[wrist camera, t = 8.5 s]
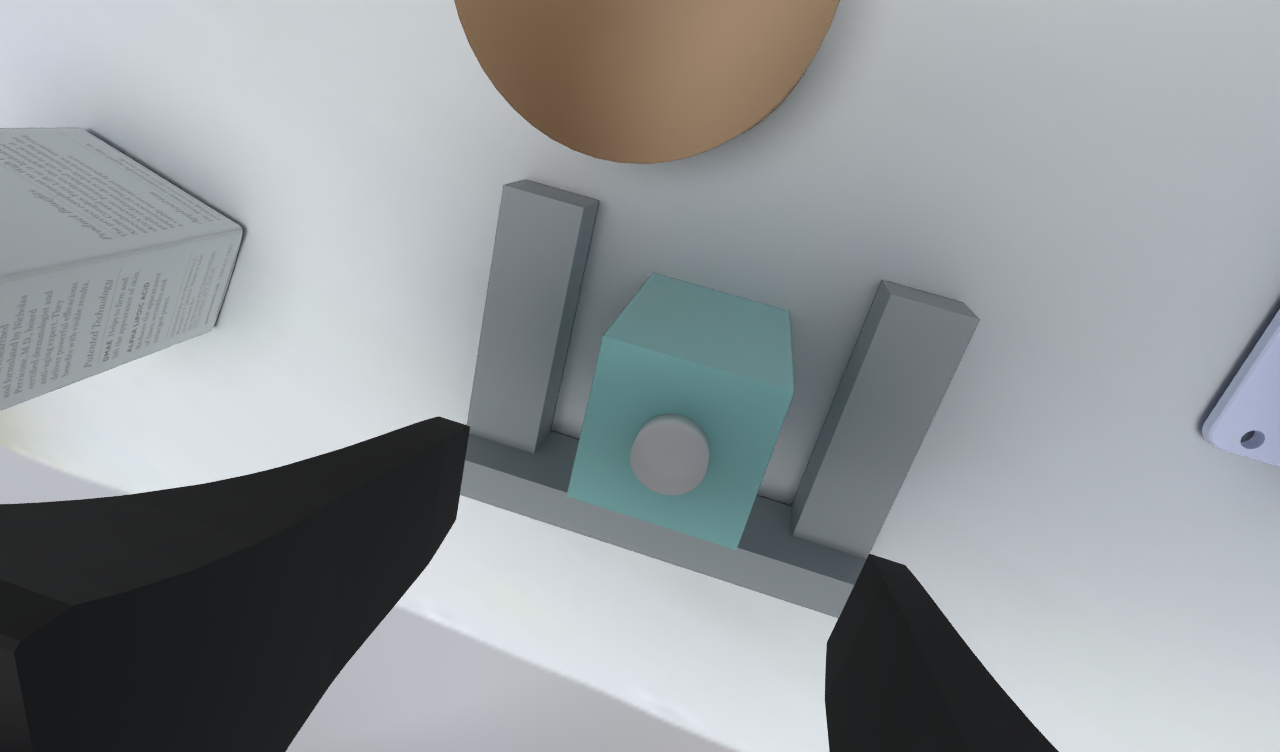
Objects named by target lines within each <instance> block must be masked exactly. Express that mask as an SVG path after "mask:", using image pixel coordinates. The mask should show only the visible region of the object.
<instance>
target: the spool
mask: <svg viewBox="0 0 1280 752" xmlns="http://www.w3.org/2000/svg"><path fill="white" fill-rule="evenodd" d="M454 1H455V5H456V9H457V12H458V16H459V19H460V22H461V24H462V27H463V29H464V32H465V34H466V37H467V39H468V42H469V44H470V46H471V48H472V50H473V52H474V54H475V56H476V58H477V59H478V61H479V63H480V65H481V67H482V69H483V70H484V72H485V73H486V75H487V76H488V77H489V79H490V80H491V82H492V83H493V85H494V86H495V88H496V89H497V90H498V92H499V93H500V94H501V95H502V96H503V97H504V98H505V100H506V101H507V102H508V103H509V104H510V105H511V106H512V108H513V109H514V110H516V111H517V112H518V113H519V114H520V115H521V116H522V117H523V118H524V119H526V120H527V121H528V122H529V123H530V124H531V125H532V126H534V127H535V128H537V129H538V130H540V131H541V132H542V133H544V134H545V135H547V136H548V137H550V138H551V139H553V140H555V141H557V142H559V143H561V144H563V145H565V146H567V147H569V148H570V149H572V150H575V151H578V152H581V153H583V154H586V155H589V156H592V157H595V158H599V159H604V160H609V161H614V162H619V163H636V164H648V163H661V162H669V161H674V160H678V159H683V158H687V157H691V156H694V155H697V154H699V153H702V152H705V151H707V150H710V149H713V148H715V147H717V146H719V145H721V144H723V143H725V142H727V141H728V140H730V139H732V138H734V137H736V136H738V135H740V134H742V133H744V132H746V131H747V130H749V129H751V128H752V127H754V126H755V125H756V124H758V123H759V122H761V121H762V120H764V119H765V118H766V117H767V116H768V115H769V114H770V113H772V112H773V111H774V110H775V109H776V108H777V107H778V106H779V105H780V104H781V103H782V102H783V101H784V99H785V98H786V97H787V96H788V95H789V94H790V92H791V91H792V90H793V89H794V87H795V86H796V84H797V83H798V81H799V80H800V78H801V77H802V75H803V74H804V72H805V70H806V68H807V67H808V65H809V64H810V62H811V61H812V59H813V58H814V56H815V54H816V52H817V50H818V49H819V47H820V45H821V43H822V41H823V39H824V37H825V35H826V33H827V31H828V29H829V27H830V25H831V22H832V19H833V17H834V14H835V11H836V9H837V6H838V4H839V1H840V0H454Z"/></svg>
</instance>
